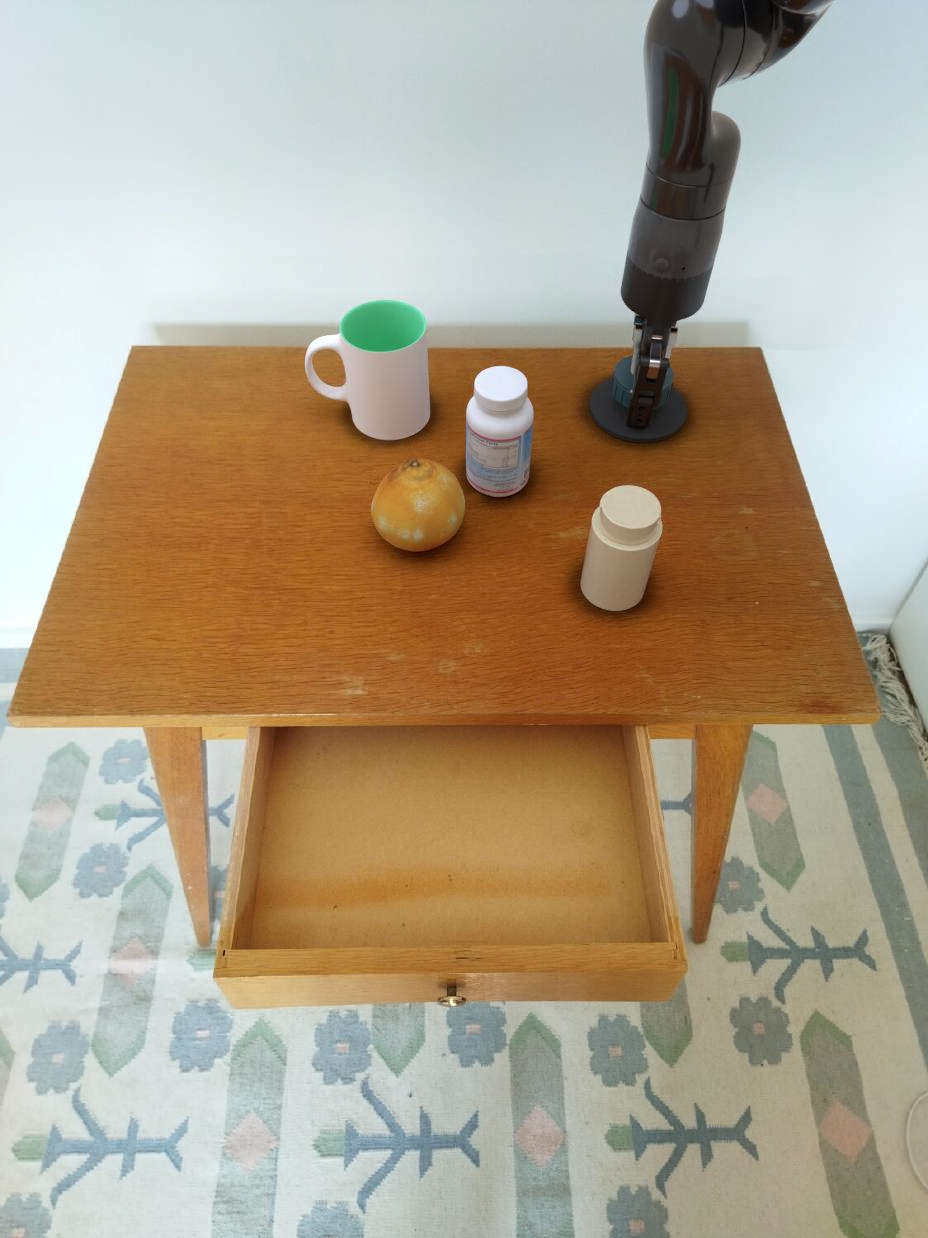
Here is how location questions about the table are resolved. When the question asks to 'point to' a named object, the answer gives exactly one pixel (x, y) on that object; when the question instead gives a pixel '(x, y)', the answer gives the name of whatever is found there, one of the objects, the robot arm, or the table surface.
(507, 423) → the pill bottle
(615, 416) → the coaster
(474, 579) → the table surface
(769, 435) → the table surface
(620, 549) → the jar
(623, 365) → the lid
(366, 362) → the mug
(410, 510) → the fruit
